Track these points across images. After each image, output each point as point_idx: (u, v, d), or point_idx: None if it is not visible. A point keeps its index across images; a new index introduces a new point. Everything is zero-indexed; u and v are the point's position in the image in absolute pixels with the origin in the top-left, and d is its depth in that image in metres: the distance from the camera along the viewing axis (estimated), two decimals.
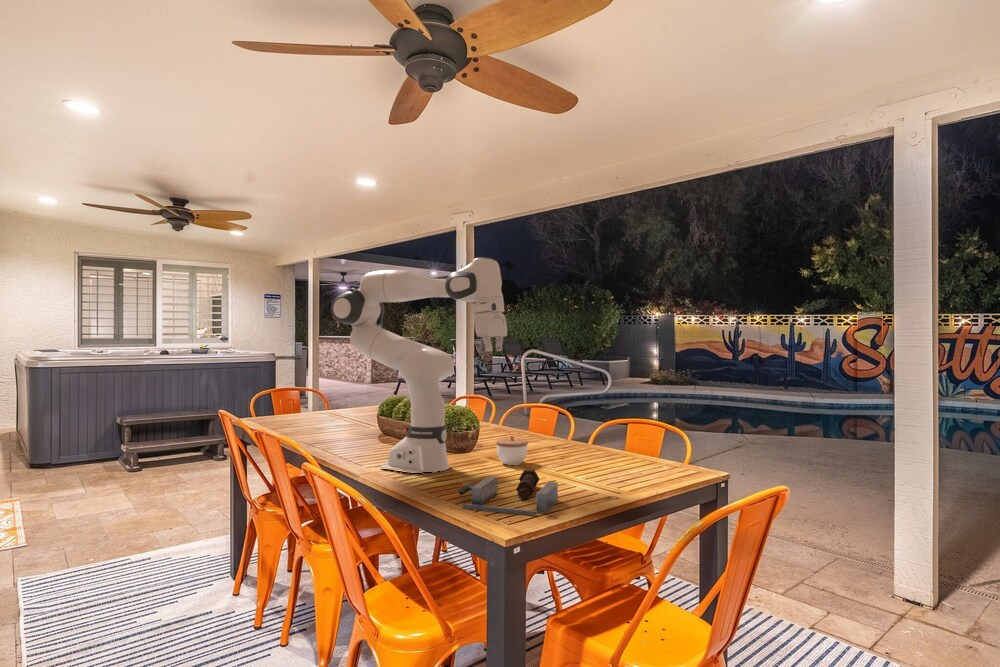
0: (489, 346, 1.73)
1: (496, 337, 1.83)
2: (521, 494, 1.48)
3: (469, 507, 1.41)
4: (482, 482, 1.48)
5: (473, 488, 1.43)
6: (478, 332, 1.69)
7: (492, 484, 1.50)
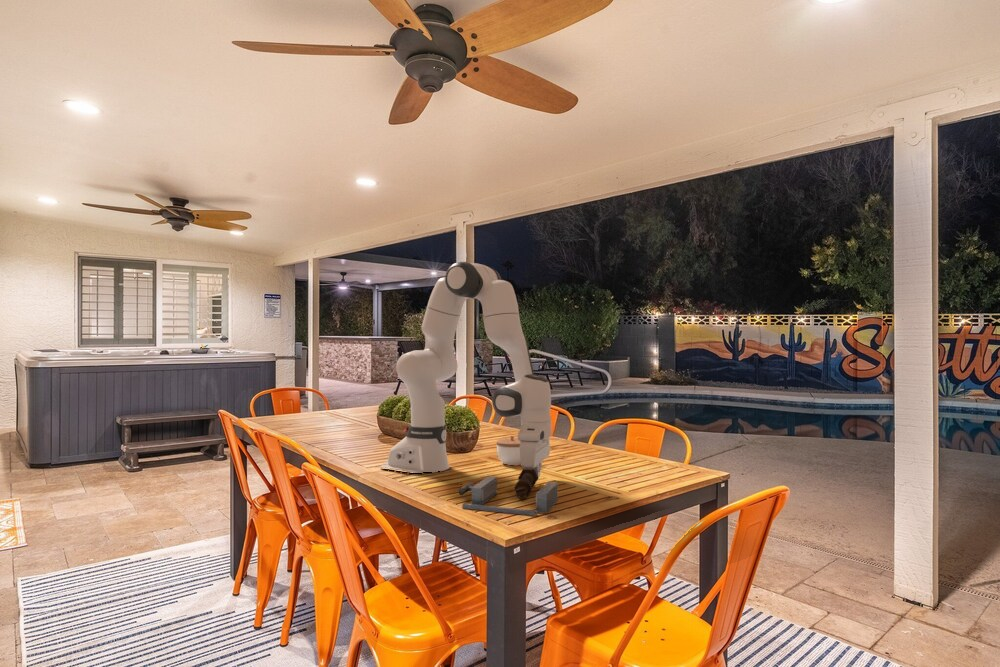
0: (536, 473, 1.63)
1: None
2: (519, 492, 1.49)
3: (469, 507, 1.41)
4: (482, 482, 1.48)
5: (473, 488, 1.43)
6: (524, 464, 1.56)
7: (492, 484, 1.50)
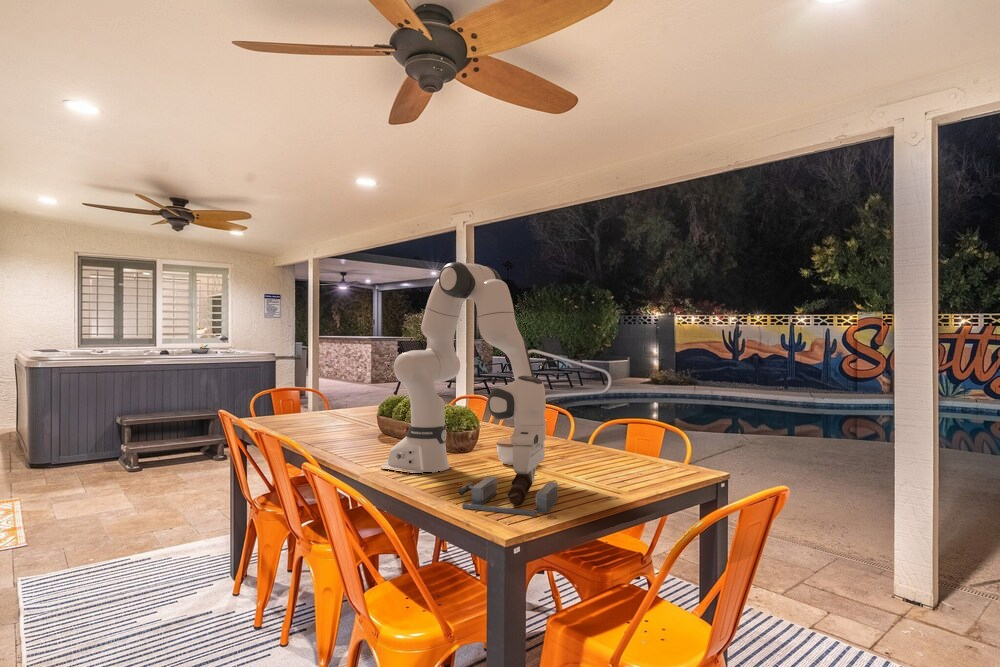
0: None
1: None
2: (513, 499, 1.42)
3: (469, 507, 1.41)
4: (482, 482, 1.48)
5: (473, 488, 1.43)
6: (517, 469, 1.49)
7: (492, 484, 1.50)
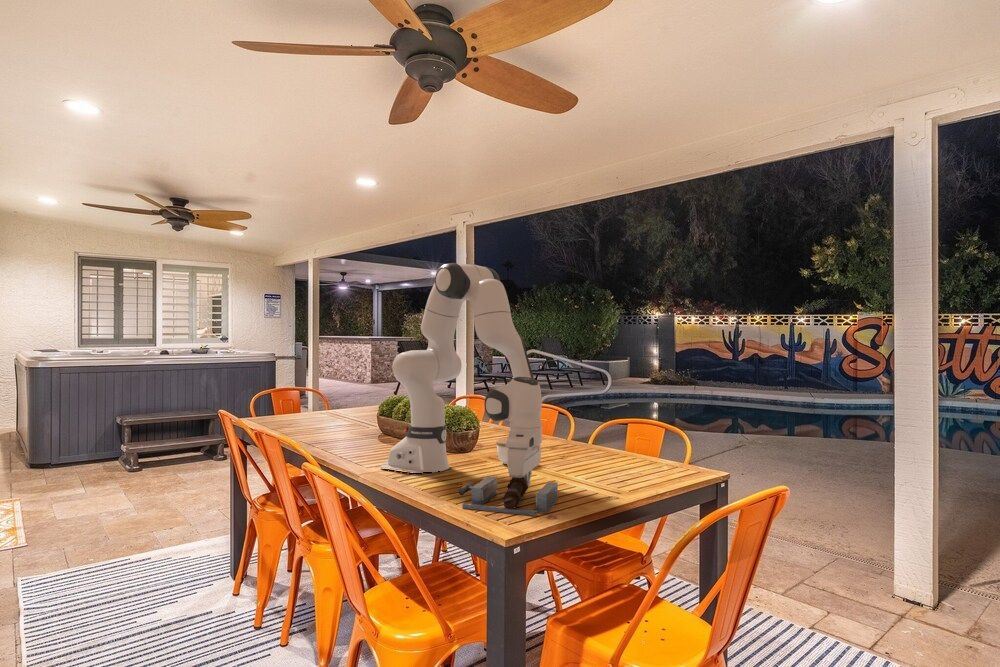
0: (526, 482, 1.53)
1: None
2: (507, 504, 1.39)
3: (469, 507, 1.41)
4: (482, 482, 1.48)
5: (473, 488, 1.43)
6: (512, 473, 1.45)
7: (492, 484, 1.50)
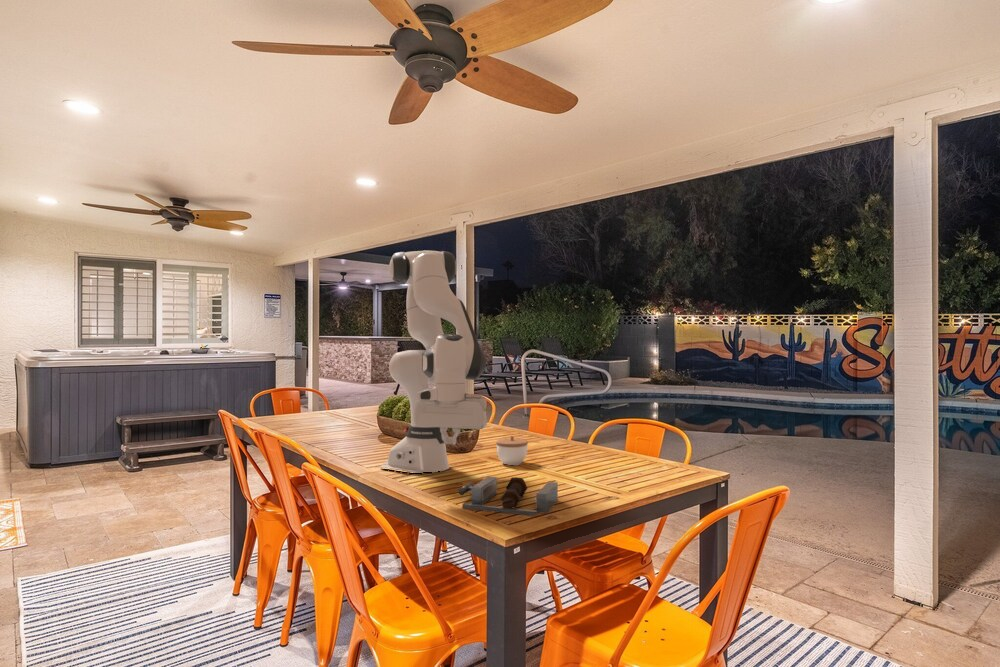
0: None
1: None
2: (506, 504, 1.39)
3: (469, 507, 1.41)
4: (482, 482, 1.48)
5: (473, 488, 1.43)
6: None
7: (492, 484, 1.50)
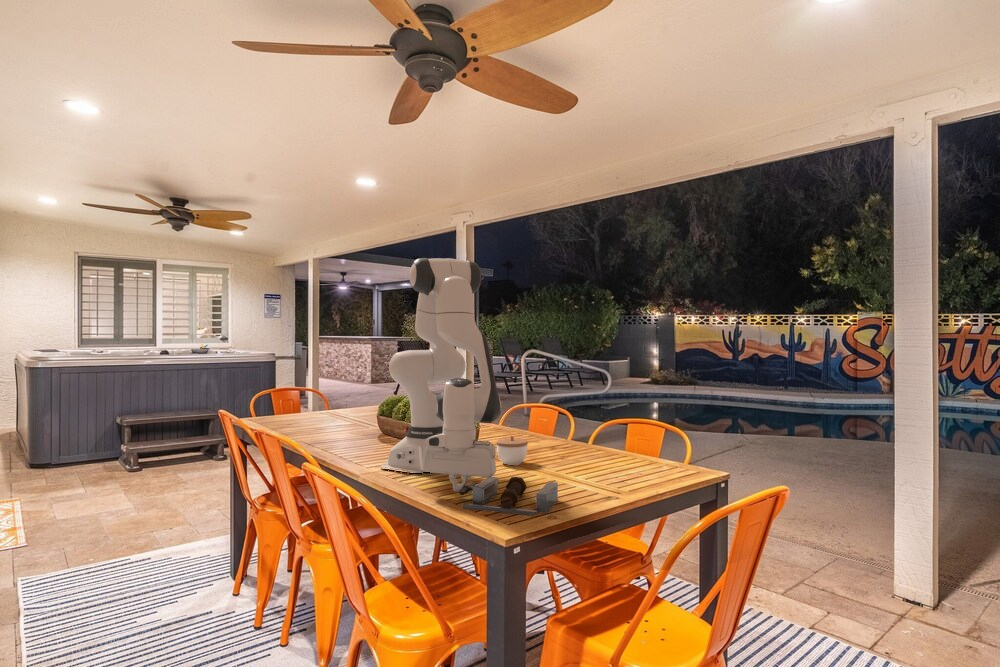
0: None
1: None
2: (504, 503, 1.40)
3: (469, 507, 1.41)
4: (483, 482, 1.48)
5: (474, 488, 1.43)
6: None
7: (493, 484, 1.50)
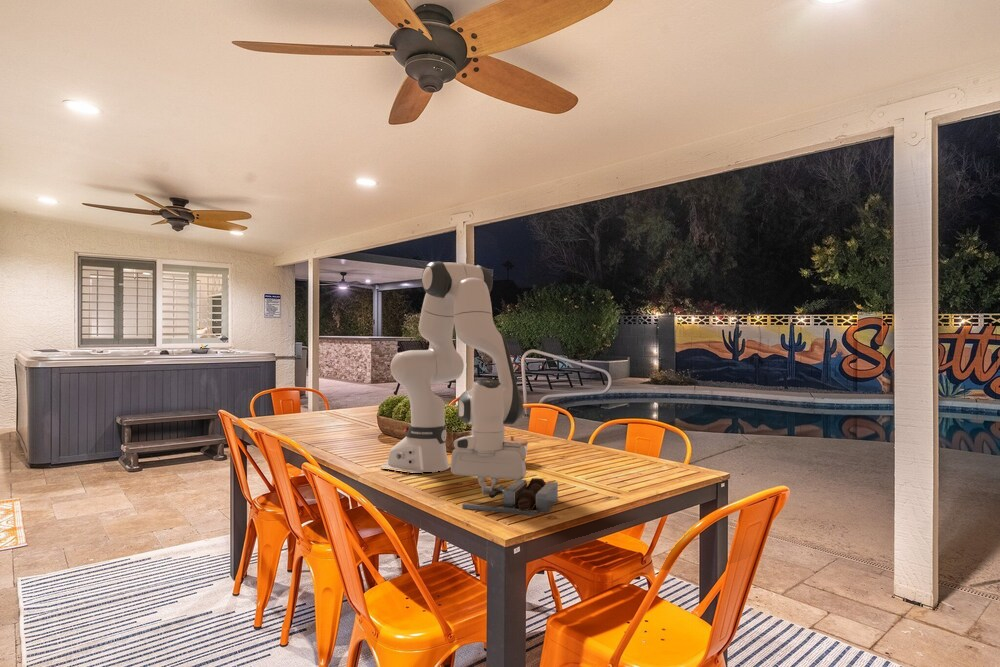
0: None
1: None
2: (521, 505, 1.39)
3: (469, 507, 1.41)
4: (513, 485, 1.46)
5: (505, 491, 1.41)
6: None
7: (523, 487, 1.47)
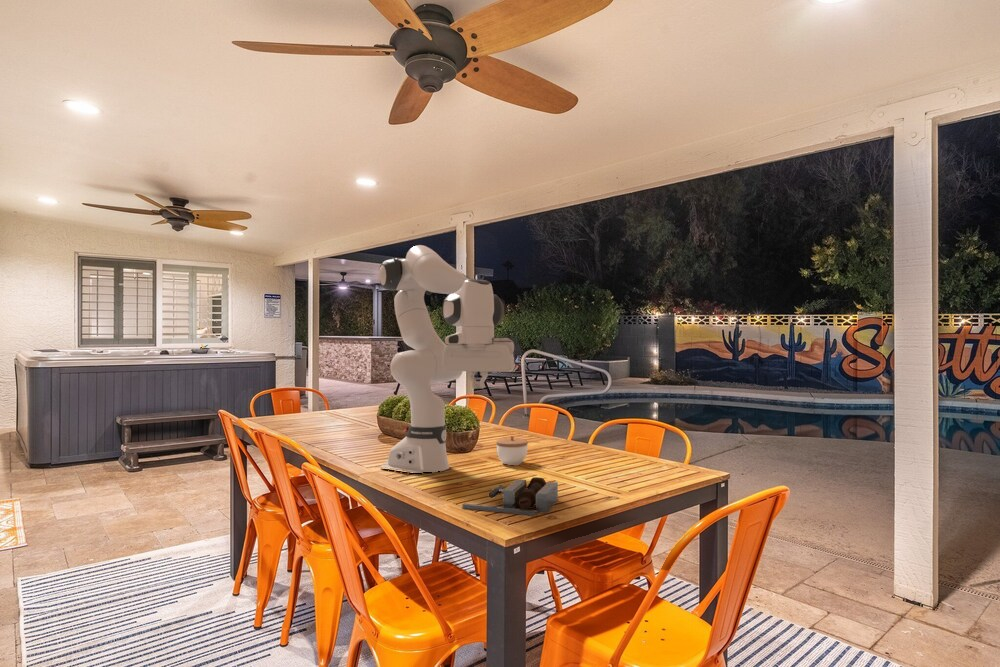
0: None
1: None
2: (522, 504, 1.39)
3: (469, 507, 1.41)
4: (512, 485, 1.46)
5: (504, 491, 1.41)
6: None
7: (522, 487, 1.47)
